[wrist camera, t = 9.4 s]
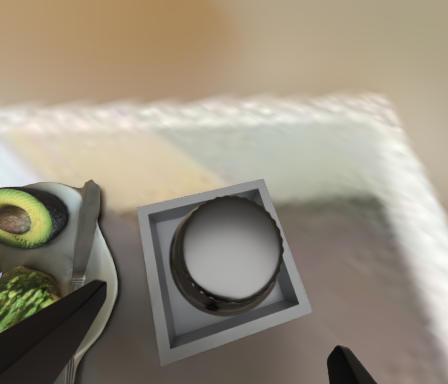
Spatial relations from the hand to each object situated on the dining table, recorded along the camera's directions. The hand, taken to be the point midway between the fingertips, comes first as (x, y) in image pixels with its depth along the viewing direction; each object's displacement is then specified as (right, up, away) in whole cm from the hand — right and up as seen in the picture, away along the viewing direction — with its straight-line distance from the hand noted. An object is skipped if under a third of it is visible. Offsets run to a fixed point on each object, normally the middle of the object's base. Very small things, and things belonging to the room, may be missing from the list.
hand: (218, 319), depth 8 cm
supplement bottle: (0, -2, +13) cm, 13 cm away
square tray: (0, -2, +13) cm, 13 cm away
